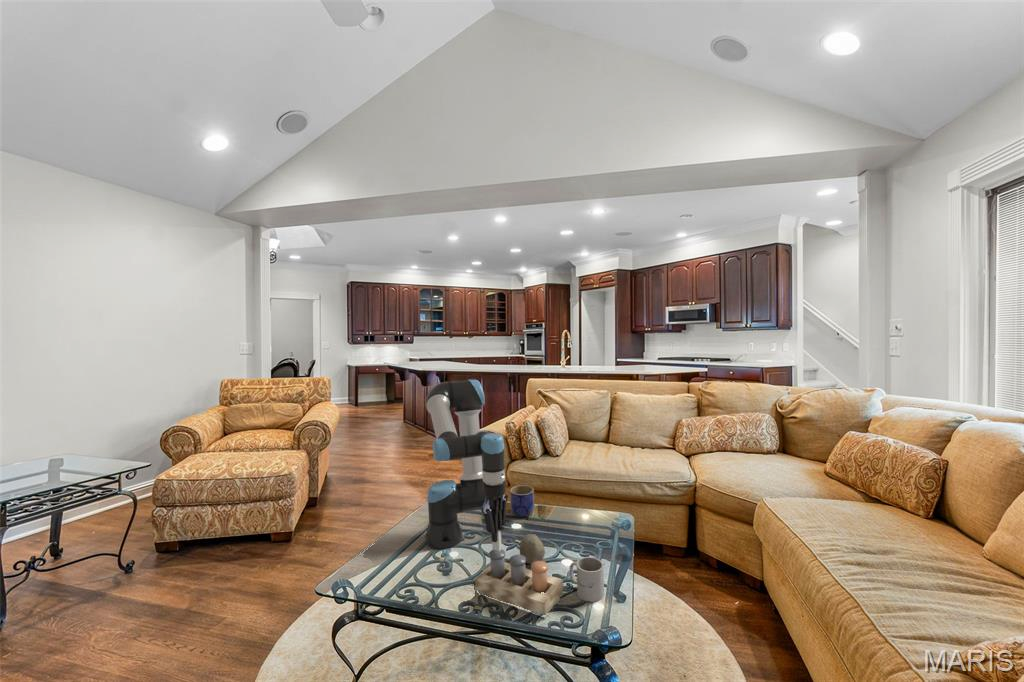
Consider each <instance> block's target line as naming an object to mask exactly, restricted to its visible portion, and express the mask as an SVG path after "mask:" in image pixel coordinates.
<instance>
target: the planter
mask: <svg viewBox="0 0 1024 682" xmlns="http://www.w3.org/2000/svg"><path fill="white" fill-rule="evenodd" d="M534 490H535V489H534V487H532V486H530V485H525V484H521V485H515V486H513V487H511V488H510V489H509V501H510V509H511V511H512V513H513V514H514V515H515V516H516V517H520V518H524V517H528V516H530V515H531V514H532V513H533V511H534V508H535V491H534Z"/></svg>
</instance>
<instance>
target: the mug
mask: <svg viewBox="0 0 1024 682" xmlns="http://www.w3.org/2000/svg"><path fill="white" fill-rule="evenodd" d="M574 566H576V577H575V575H574ZM604 569H605V568H604V563H603V561H602V560H600V559H599V558H597V557H593V556H584V557H581V558H579V559H578V560H577V561H573V562H571V563H570V566H569V577H570V578H571V581H572V582H573V583H574V584H576V587H577V596H578V598H580V599H581V600H583V601H584V602H587V601H590V603H597V602H600V601H601V600H603V599H604V597H605V580H604V579H605V574H604V573H605V572H604Z"/></svg>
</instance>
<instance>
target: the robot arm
mask: <svg viewBox="0 0 1024 682" xmlns="http://www.w3.org/2000/svg"><path fill="white" fill-rule="evenodd" d="M425 398H426V399H425V407H426V410H427V412H428V413H429V414H430V418H431V421H432V425H433V430H434V434H435V438H436V439H434V440H433V441H432V451H433V452H432V453H433V459H434V461H436V462H442V461H443V462H448V461H454V460H461V462H462V475H461V476H460V477H459V483H457V482H456V481H455V480H454V479H442V480H440V481H437V482H435V483H432V484H431V485H430V486H429V488H428V489H427V499H426V501H427V507H428V510H427V511H428V525H427V529H426V533H425V544H426V543H427V544H428V545H427V544H426V545H427V546H428V547H429V548H432V549H440V550H441V549H448V548H452V547H455V546H457V545H458V544H460V543H461V542H462V540H463V539H464V538H463V537H464V536H463V530H462V527H461V525H460V522H459V519H458V514H462V513H468V512H473V511H481V512H482V514H483V520H484V523H485V528H486V532H487V533H489V534H491V544H492V546H491V547H492V550H493V549H494V550H497V551H500V550H501V549H502V550H503V548H502V545H503V544H502V531H504V530H505V527H503V526H505V524H506V517H507V516H506V514H507V513H506V512H507V505H508V504H507V502H508V498H509V495H508V494H505V493H506V492H507V491H506V490H507V487H506V485H507V484H506V481H505V480H506V473H505V471H506V469H505V468H506V466H505V465H506V463H505V443H504V437H503V435H502V434H500V433H494V432H492V433H490V432H489V431H488V430H481V429H480V420H479V419H480V418H479V414H480V412H482V407H483V406H485V404H486V401H485V400H486V399H485V393H484V389H483V385H482V384H481V382H480V381H479V380H477V379H464V380H463V379H462V380H451V381H443V382H440V383H437V384H436V385H435V386H434V387H432V388H431V390H430V391H429V392H428V393H427V395H426V397H425ZM451 409H453V410H454V411H453V412H454V414H455V415H456V416H457V418H458V427H459V430H458V431H459V435H458V433H457V429H456V425H455V423H454V420H453V416H452V413H451Z"/></svg>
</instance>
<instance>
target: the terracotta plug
mask: <svg viewBox="0 0 1024 682" xmlns="http://www.w3.org/2000/svg"><path fill="white" fill-rule="evenodd" d="M548 569H549V565H548V563H547V562H545V561H543V560H541V561H535V562H533V563H532V564H530V570H532V585H533V589H534V590H536V591H544V590H546V589H547V587H548V585H547V575H548Z"/></svg>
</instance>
